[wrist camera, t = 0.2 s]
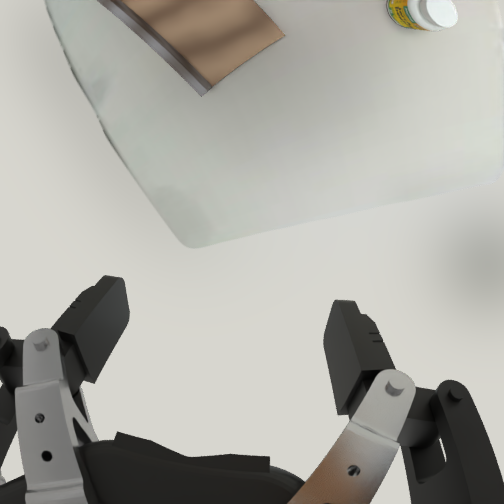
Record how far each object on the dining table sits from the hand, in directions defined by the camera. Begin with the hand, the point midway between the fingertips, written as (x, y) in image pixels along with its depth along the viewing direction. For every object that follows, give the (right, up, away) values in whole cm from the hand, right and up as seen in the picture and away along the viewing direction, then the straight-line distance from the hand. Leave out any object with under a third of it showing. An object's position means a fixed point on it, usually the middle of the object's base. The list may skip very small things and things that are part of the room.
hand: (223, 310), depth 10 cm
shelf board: (-7, +32, +12) cm, 35 cm away
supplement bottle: (+20, +32, +10) cm, 39 cm away
